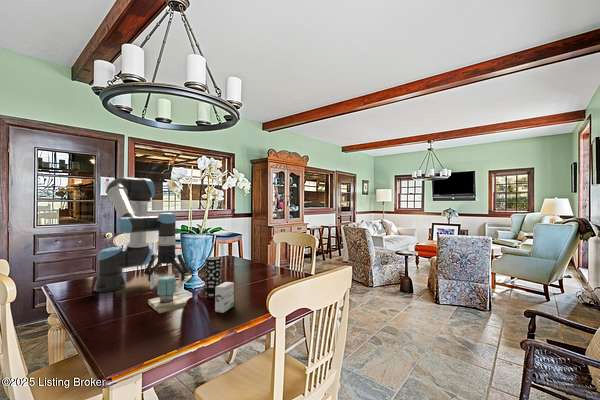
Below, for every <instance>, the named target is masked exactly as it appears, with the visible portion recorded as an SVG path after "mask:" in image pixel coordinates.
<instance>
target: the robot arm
mask: <svg viewBox="0 0 600 400" xmlns="http://www.w3.org/2000/svg"><path fill="white" fill-rule="evenodd" d="M154 184H155V183H154V182H153V181H152V180H151V179H150V178H144V177H142V178H141V177H125V176H123V177H118V178H117V177H116V178H115V179H113V180H112V181H110V182H109V184H108V185H107V187H106V190H105V191H106V196H107V198H108V199H109V200H110V201H111V202H112V204H113V206H114V208H115V212H116V214H117V216H118V218H117V220H116V229H117V232H118V233H119V234H129V242H128V243H127V244H126V247H124V248H123V246H112V247H107V248H104V249H101V250H99V252H98V257H97V260H98V265H97V266H98V269H97V273H98V275H97V279H96V281H95V284H94V287H93V291H94V292H95V291H96V292H95V293H110V292H109V291H111V292H115V291H116V292H117V291H120V290H122V289H125V288H126V287H127V283H126V278H125V277H124V273H123V269H128V268H129V269H130V268H135V267H136V268H137V267H142V266H146V265H147V266H146V268H145V269H144V272H143V274H144V275H147V276H148V277H147V278H148V279H147V280H148V281H147V282H148V283H149V289H150V290H153V289H154V288H155V271H156V270H157V269H158V268H159V267H160V266H161V264H162V265H166V264H167V265H170V264H171V265H172V266H173V267H174V268H175V269H176V270H177V271H178V272H179V277H178V278H179V280H178V284H179V285H178V286H179V289H181V288H183V287H184V286H183V284H184V282H185V280H186V277H185V276H186V274H188V273H189V271H190V270H189V268H188V266H187V264H186V262H185V260H184V258H183V254H182V253H178V254H176V224H177V223H176V222H177V219H176V213H174V212H161V213H159V214H158V215H154V216H153V215H151V216H148V207H149V203H150V202H151V200H152V198H155V195H156V190H155V185H154ZM148 232H149V233H150V232H158V241H157V242H158V247H157V251H158V254H156V253H153V251H152V250H153V249H152V247H151V246H150V245H149V243H148V242H147V233H148ZM157 259H158V261H157V262H156V263H155V261H156V260H157ZM176 259H177V260H178V261H177V260H176ZM178 262H179V263H178ZM154 263H155V265H154ZM153 265H154V266H153Z"/></svg>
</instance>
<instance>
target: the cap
mask: <svg viewBox="0 0 600 400" xmlns="http://www.w3.org/2000/svg"><path fill="white" fill-rule="evenodd" d="M176 280H177V279H176V277H175V276H172V275H171V276H168V275H167V276H162V277H159V278H157V295H158V296H160V295H170V294H174V295H175V293H176V290H177V286H176V285H177V283H176V282H177V281H176Z"/></svg>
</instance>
